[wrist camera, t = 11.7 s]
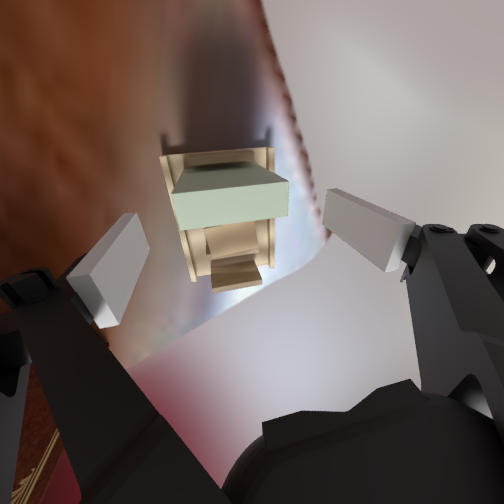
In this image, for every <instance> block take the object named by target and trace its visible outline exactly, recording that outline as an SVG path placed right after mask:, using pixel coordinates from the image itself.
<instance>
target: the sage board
mask: <svg viewBox="0 0 504 504" xmlns="http://www.w3.org/2000/svg"><path fill="white" fill-rule="evenodd" d="M171 197H172V201H173V205H174V209H175V213H176V217H177V221H178V224H179V228H180V231H181V230H189V229H196V228H204V227H211V226H219V225H226V224H233V223H241V222H248V221H256V220H263V219H271V218H278V217H286V216H288V207H289V181H288V180H286V179H284V178H282V177H280V176H278V175H277V174H275V173H273V172H271V171H269V170H267V169H265V168H264V167H262V166H260V165H258V164H256V163H245V164H234V165H223V166H212V167H201V168H190V169H184V170H183V172H182V173H181V175H180V177H179V179H178V181H177V183H176V185H175V187H174V189H173V191H172V193H171Z"/></svg>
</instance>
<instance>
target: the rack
mask: <svg viewBox="0 0 504 504" xmlns="http://www.w3.org/2000/svg"><path fill="white" fill-rule="evenodd" d="M159 158H160V161H161V165H162V169H163V173H164V177H165V181H166V184H167V188H168V192H169V196H170V200H171V204H172V207H173V211H174V215H175V219H176V223H177V226H178V230H179V234H180V238H181V242H182V246H183V249H184V253H185V257H186V261H187V265H188V269H189V272H190V276H191V280H192V282H196V281H197V276H202V275H208V274H211V281H212V291H213V293H218V292H223V291H228V290H234V289H239V288H245V287H250V286H256V285H261V284H262V278H261V276H260V273H259V271H258V268H257V266H262V265H269V267H270V269H272V268H275V228H274V218H271V219H263V220H256V221H255V228H256V235H257V241H258V247H257V248H253V249H249V250H245V251H240V252H236V253H232V254H228V255H223V256H219V257H215V258H212V256H211V252H210V249H209V246H208V242H207V239H206V235H205V232H204V228H196V229H189V230H181V231H180V228H179V224H178V221H177V217H176V213H175V209H174V205H173V201H172V197H171V193H172V191H173V189H174V187H175V185H176V183H177V181H178V179H179V177H180V175H181V173H182V172H183V170H184V169H190V168H201V167H212V166H223V165H234V164H245V163H256V164H258V165H260V166H262V167H264V168H265V169H267V170H269V171H271V172H273V173H274V147H258V148H245V149H233V150H220V151H208V152H195V153H183V154H170V155H162V156H160V157H159Z"/></svg>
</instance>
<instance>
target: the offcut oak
mask: <svg viewBox="0 0 504 504" xmlns="http://www.w3.org/2000/svg"><path fill="white" fill-rule="evenodd" d="M204 232H205V235H206V239H207V242H208V246H209V249H210V252H211V256H212V258H215V257H219V256H223V255H228V254H232V253H236V252H240V251H245V250H249V249H253V248H257V247H258V241H257V235H256V228H255V221H248V222H241V223H233V224H226V225H219V226H211V227H204Z"/></svg>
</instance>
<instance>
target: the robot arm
mask: <svg viewBox="0 0 504 504" xmlns="http://www.w3.org/2000/svg"><path fill="white" fill-rule="evenodd" d="M322 224H323V225H324V226H325V227H327V228H328V229H329V230H330V231H332V232H333V233H334V234H336V235H337V236H338V237H340V238H341V239H342V240H343V241H345V242H346V243H347V244H349V245H350V246H351V247H353V248H354V249H355V250H356V251H358V252H359V253H360V254H362V255H363V256H364V257H366V258H367V259H368V260H369V261H371V262H372V263H373V264H375V265H376V266H377V267H378V268H380V269H381V270H382V271H384V272H389V271H395V270H397V269H398V267H399V264H400V262H401V260H402V261H404V262H405V263H407V265H406V268H405V270H404V272H403V275H402V277H401V280H400V282H403V280H405V279H406V284H407V290H408V297H409V304H410V310H411V317H412V323H413V331H414V337H415V344H416V351H417V357H418V364H419V371H420V378H421V391H420V390H419V388H418V387H417V386H416V385H415V384H414V383H413V381H412V380H411V379H408V380H404V381H401V382H397V383H394V384H390V385H387V386H384V387H380V388H377V389H376V390H375V391H373V392H372V393H371V394H370V395H368V396H367V397H366V398H365V399H363V400H362V401H361V402H359V403H358V404H357V405H356V406H354V407H353V408H352V409H350V410H349V411H346V412H329V411H299V412H296V413H293V414H289V415H286V416H282V417H279V418H275V419H272V420H269V421H265V422H262V429H263V430H262V431H263V435H262V436H260V437H259V438H257V439H256V440H255V441H254V442H253V443H252V444H250V445H249V446H248V447H247V448H246V449H245V451H244V452H243V453H242V454H241V456H240V457H239V458H238V459H237V461H236V462H235V464H234V465H233V467H232V469H231V470H230V472H229V474H228V476H227V478H226V480H225V482H224V484H223V486H222V488H221V489H220V488H219V486H218V485H217V484H216V483H215V481H214V480H213V479H212V478H211V476H210V475H209V474H208V472H207V471H206V470H205V469H204V467H203V466H202V465H201V464H200V462H199V461H198V460H197V458H196V457H195V456H194V455H193V454H192V452H191V451H190V450H189V448H188V447H187V446H186V445H185V444H184V442H183V441H182V439H181V438H180V437H179V436H178V434H177V433H176V432H175V431H174V429H173V428H172V427H171V426H170V424H169V423H168V422H167V421H166V419H165V418H164V417H163V416H162V415H160V414H159V412H158V411H157V410H156V409H155V407H154V406H153V405H152V404H151V402H150V401H149V400H148V399H147V397H146V396H145V395H144V393H143V392H142V391H141V390H140V388H139V387H138V386H137V384H136V383H135V382H134V380H133V379H132V378H131V377H130V375H129V374H128V373H127V372H126V370H125V369H124V368H123V366H122V365H121V364H120V363H119V361H118V360H117V359H116V357H115V356H114V355H113V354H112V352H111V351H110V350H109V348H108V347H107V346H106V345H105V343H104V342H103V341H102V340H101V338H100V337H99V336H98V334H97V333H96V332H95V331H94V329H93V328H92V327H91V323H92V321H93V319H94V321H95V322H96V324H97V325H98V327H99V328H100V329H101V328H106V327H111V326H116V325H119V324H120V322H121V319H122V317H123V314H124V312H125V309H126V307H127V305H128V302H129V300H130V297H131V295H132V292H133V290H134V288H135V285H136V283H137V280H138V278H139V275H140V273H141V271H142V268H143V266H144V263H145V261H146V258H147V256H148V254H149V251H150V248H149V245H148V242H147V240H146V237H145V234H144V231H143V229H142V226H141V223H140V220H139V218H138V215H137V212H134V213H126V214H123V215H122V216H121V217H120V218H119V219H118V221H117V222H116V223H115V224H114V225H113V226H112V227H111V228H110V229H109V231H108V232H107V233H106V234H105V235H104V236H103V237H102V238H101V239H100V241H99V242H98V243H97V244H96V245H95V246H94V247H93V248H92V249H91V250H90V252H89V253H86V254H84V255H83V256H81V257H79V258H78V259H76V260H75V261H74V263H73V264H72V265H71V267H69V268H68V269H67V270H66V272H64V273H63V274H62V275H61V276H60V277H59V278H58V279H57V280H55V279H54V277H53V276H52V274H51V273H50V271H49V270H48V269H46V268H33V269H28V270H25V271H22V272H19V273H17V274H15V275H12V276H10V277H8V278H6V279H5V280H3V281H1V282H0V297H1V298H2V299H3V300H4V301H5V302H6V303H7V304H8V305H9V306H10V307H11V309H12V310H13V311H10V312H7V313H4V314H1V315H0V504H11V498H12V491H13V484H14V477H15V470H16V463H17V456H18V449H19V442H20V435H21V428H22V421H23V414H24V407H25V400H26V393H27V386H28V379H29V372H30V365H31V363H33V366H34V368H35V371H36V374H37V376H38V379H39V382H40V384H41V387H42V390H43V392H44V395H45V397H46V400H47V403H48V405H49V408H50V411H51V413H52V416H53V418H54V421H55V424H56V426H57V429H58V432H59V434H60V437H61V440H62V442H63V445H64V447H65V450H66V453H67V455H68V458H69V461H70V463H71V466H72V469H73V471H74V473H75V476H76V479H77V481H78V484H79V487H80V491H81V501H80V502H79V504H504V229H502V228H500V227H498V226H495V225H491V224H473V225H471V226H470V228H469V230H468V232H467V233H466V234H458V233H457V231H455V230H454V229H453V228H450V227H447V226H444V225H440V224H426V225H423V226H422V227H421V226H418V225H416V222H414V221H411V220H409V219H407V218H404V217H402V216H400V215H397V214H395V213H393V212H390V211H388V210H386V209H383V208H381V207H379V206H376V205H374V204H372V203H369V202H367V201H364V200H362V199H360V198H358V197H355V196H353V195H351V194H348V193H346V192H344V191H342V190H339V189H327V194H326V201H325V208H324V215H323V223H322ZM493 259H494V260H495V263H496V264H495V268H494V270H493V272H492V273H491V274H488V273H487V272H486V270H487V268H488V267H489V265H490V264H491V262H492V261H493Z"/></svg>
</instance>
